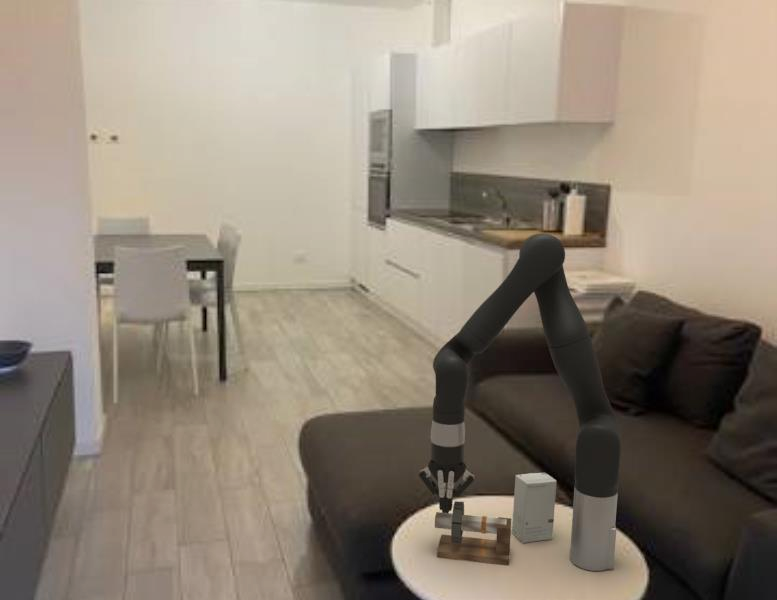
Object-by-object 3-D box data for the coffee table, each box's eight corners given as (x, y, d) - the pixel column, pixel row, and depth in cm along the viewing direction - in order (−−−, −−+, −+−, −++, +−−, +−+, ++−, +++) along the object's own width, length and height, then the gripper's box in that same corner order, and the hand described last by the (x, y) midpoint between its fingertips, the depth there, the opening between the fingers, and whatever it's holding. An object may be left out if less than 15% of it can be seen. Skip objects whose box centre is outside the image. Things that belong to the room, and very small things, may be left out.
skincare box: (522, 544, 180) (525, 484, 177) (510, 532, 186) (513, 474, 183) (554, 539, 183) (557, 480, 180) (541, 527, 188) (545, 470, 185)
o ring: (463, 531, 180) (464, 496, 178) (459, 549, 172) (461, 513, 170) (454, 530, 180) (456, 495, 179) (450, 548, 172) (452, 512, 170)
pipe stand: (510, 547, 178) (511, 513, 177) (508, 565, 171) (510, 530, 169) (436, 539, 181) (437, 506, 180) (432, 556, 174) (433, 522, 172)
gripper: (478, 435, 174) (476, 507, 178) (420, 430, 177) (419, 501, 180) (476, 447, 167) (473, 522, 170) (415, 442, 170) (414, 516, 173)
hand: (445, 511), depth 175 cm, fingers closed
